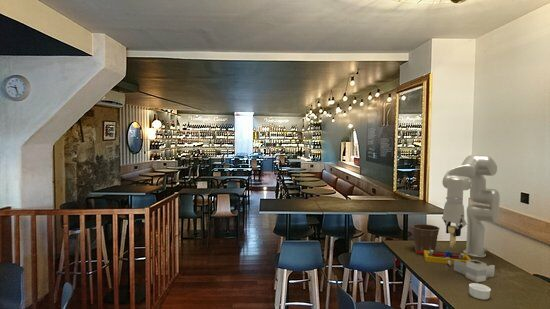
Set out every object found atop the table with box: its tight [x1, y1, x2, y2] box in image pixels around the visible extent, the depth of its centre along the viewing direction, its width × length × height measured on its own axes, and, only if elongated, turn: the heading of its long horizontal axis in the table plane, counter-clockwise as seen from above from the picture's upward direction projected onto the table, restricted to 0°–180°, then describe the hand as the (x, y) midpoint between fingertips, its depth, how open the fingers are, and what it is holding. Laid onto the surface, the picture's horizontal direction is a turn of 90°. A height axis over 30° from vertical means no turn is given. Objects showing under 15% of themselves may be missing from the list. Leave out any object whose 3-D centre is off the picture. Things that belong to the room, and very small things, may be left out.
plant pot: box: [411, 223, 441, 253], centre depth 230 cm, size 16×16×16 cm
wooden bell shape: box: [448, 225, 457, 249], centre depth 190 cm, size 5×5×11 cm
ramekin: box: [468, 282, 492, 300], centre depth 166 cm, size 9×9×4 cm
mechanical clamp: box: [415, 250, 472, 267], centre depth 212 cm, size 18×6×30 cm
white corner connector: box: [453, 259, 496, 283], centre depth 192 cm, size 16×16×9 cm
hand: (453, 234), depth 190 cm, fingers closed on wooden bell shape, 5 cm apart
